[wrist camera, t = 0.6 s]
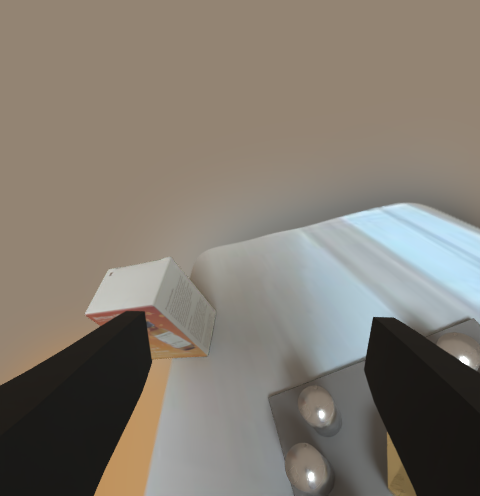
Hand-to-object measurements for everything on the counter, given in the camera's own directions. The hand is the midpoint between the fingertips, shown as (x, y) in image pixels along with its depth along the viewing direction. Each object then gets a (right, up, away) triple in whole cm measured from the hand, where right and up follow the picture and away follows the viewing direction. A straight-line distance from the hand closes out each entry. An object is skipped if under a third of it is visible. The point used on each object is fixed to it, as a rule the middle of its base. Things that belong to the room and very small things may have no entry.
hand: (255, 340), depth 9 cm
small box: (-7, -7, +25) cm, 27 cm away
